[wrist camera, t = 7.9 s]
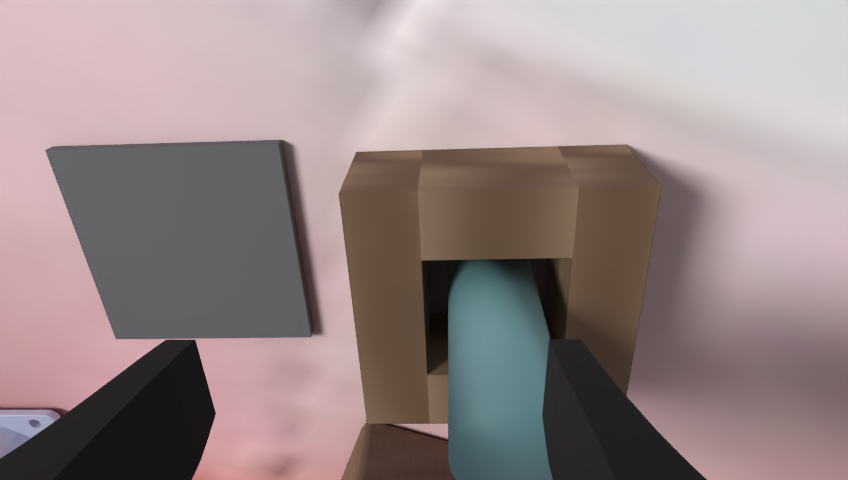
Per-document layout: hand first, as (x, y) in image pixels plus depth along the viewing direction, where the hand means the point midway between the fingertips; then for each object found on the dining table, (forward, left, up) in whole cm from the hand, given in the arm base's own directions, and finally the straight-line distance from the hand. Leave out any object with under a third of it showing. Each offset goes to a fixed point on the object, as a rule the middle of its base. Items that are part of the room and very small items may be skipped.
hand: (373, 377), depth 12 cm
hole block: (+3, -3, -9) cm, 10 cm away
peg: (+3, -3, -9) cm, 10 cm away
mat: (-8, -2, -9) cm, 13 cm away
